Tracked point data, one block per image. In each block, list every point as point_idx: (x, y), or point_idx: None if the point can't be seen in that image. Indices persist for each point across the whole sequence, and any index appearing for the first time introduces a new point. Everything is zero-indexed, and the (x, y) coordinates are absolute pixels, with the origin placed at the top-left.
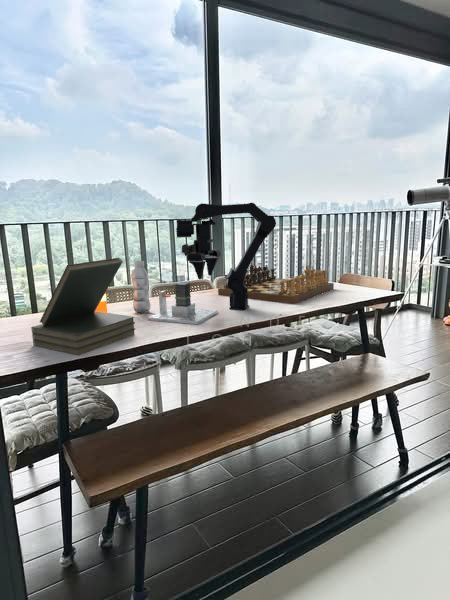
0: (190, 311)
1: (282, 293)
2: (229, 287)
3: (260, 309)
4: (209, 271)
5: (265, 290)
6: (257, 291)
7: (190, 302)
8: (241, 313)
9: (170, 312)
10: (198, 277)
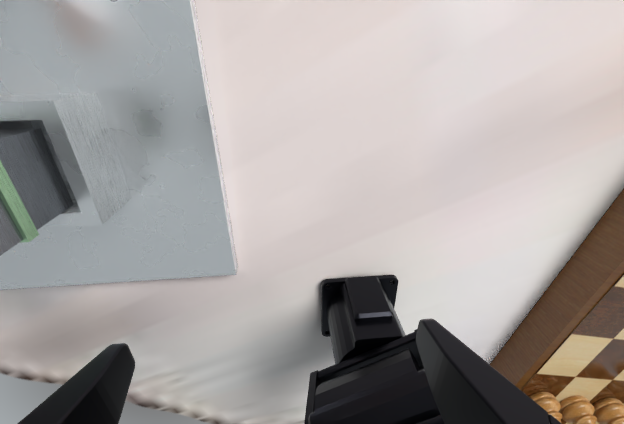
0: None
1: None
2: (318, 393)
3: None
4: (442, 377)
5: (616, 338)
6: (595, 320)
7: (61, 211)
8: (269, 339)
9: (17, 37)
10: (99, 363)
